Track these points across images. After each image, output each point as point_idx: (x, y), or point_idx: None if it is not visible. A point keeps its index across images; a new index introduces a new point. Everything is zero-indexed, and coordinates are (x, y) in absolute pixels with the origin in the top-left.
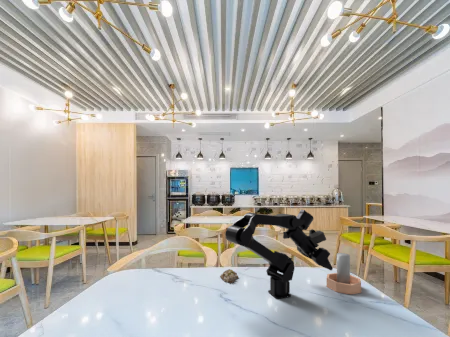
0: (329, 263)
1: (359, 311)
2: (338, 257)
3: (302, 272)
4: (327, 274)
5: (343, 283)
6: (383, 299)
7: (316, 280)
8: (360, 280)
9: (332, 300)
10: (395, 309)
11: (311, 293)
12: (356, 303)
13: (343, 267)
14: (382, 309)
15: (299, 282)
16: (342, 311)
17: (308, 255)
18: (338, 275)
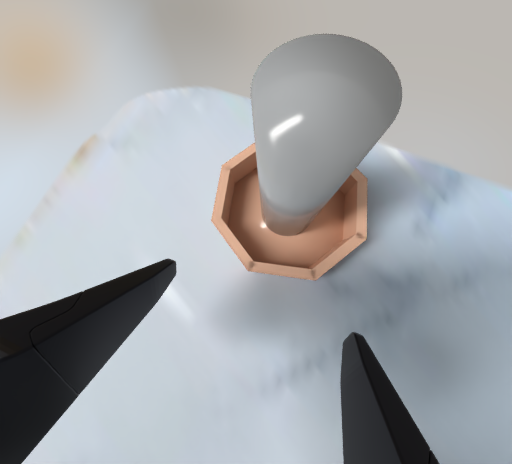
0: (416, 437)
1: (480, 352)
2: (314, 170)
3: (91, 241)
4: (216, 226)
5: (337, 253)
6: (419, 174)
7: (184, 257)
8: None
9: None
10: (495, 209)
11: (275, 401)
12: (418, 297)
13: (331, 195)
14: (485, 251)
15: (161, 350)
16: (464, 426)
17: (50, 408)
18: (289, 224)
